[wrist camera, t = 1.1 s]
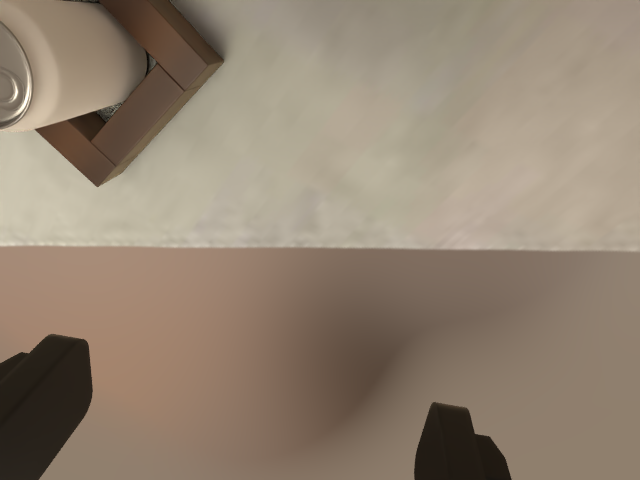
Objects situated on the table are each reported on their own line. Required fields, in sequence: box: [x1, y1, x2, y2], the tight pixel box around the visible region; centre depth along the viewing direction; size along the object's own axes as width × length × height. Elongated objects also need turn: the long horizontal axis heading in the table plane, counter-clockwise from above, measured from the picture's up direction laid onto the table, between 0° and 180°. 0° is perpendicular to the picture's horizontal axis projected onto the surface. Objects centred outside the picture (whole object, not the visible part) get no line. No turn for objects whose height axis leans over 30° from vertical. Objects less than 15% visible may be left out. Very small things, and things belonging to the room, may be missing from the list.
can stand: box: [35, 0, 224, 187], centre depth 32 cm, size 12×12×4 cm
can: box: [0, 0, 147, 132], centre depth 28 cm, size 6×6×12 cm
